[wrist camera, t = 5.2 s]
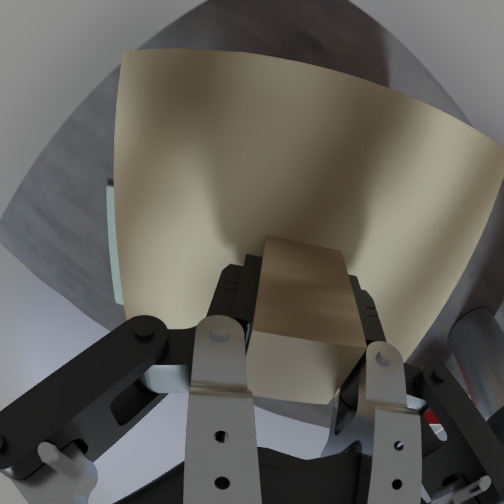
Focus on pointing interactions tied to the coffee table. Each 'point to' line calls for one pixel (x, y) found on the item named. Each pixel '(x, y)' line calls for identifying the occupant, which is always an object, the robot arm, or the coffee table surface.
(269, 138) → the lid
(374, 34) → the coffee table surface
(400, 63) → the coffee table surface
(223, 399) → the robot arm
